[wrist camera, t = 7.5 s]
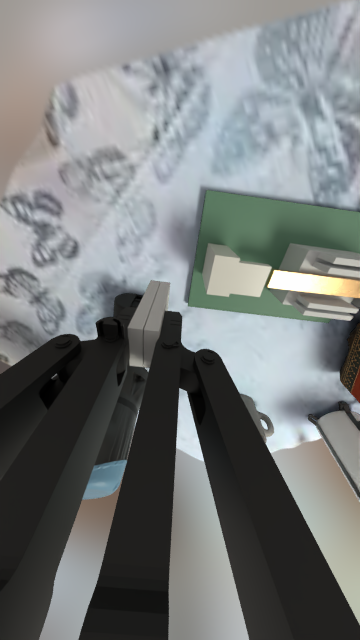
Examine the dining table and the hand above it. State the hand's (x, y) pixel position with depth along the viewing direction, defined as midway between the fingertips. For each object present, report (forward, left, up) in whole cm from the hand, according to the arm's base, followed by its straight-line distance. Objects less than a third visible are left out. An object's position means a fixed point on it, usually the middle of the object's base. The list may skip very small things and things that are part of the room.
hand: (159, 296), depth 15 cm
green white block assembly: (+18, 0, -17) cm, 25 cm away
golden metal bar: (+22, 0, -11) cm, 25 cm away
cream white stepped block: (+9, 0, -16) cm, 18 cm away
